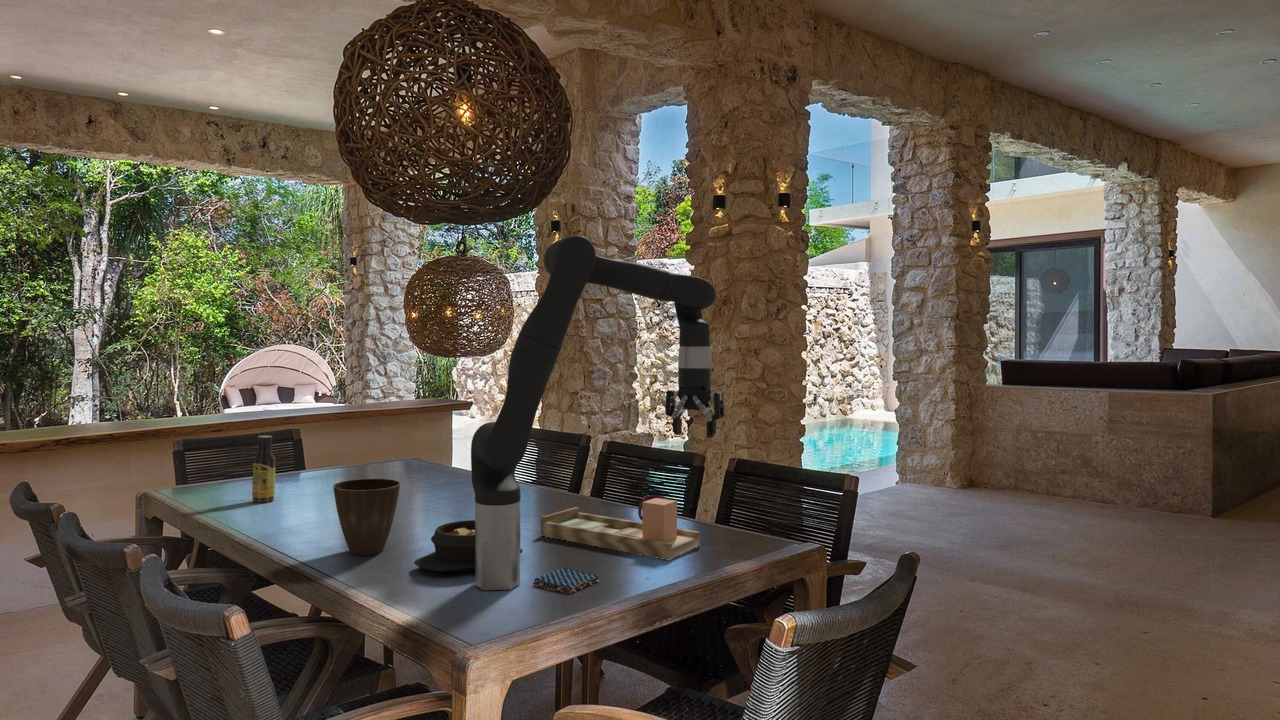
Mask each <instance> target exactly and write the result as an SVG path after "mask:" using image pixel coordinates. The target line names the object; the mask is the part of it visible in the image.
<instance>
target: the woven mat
mask: <svg viewBox="0 0 1280 720" xmlns="http://www.w3.org/2000/svg"><path fill="white" fill-rule="evenodd" d="M533 581H534V582H532V585H534V584H535V585H537V586H539V587H538V588H542V587H544V588H543V589H545V588H550V589H554V590H557V591H562V592H561V593H563V592H564V594H566V593H565V592H568V593H573V592H574V593H576V592H577V591H576V590H578V588H579V589H582V590H583V589H584V588H583V587H585V586H586V585H587V586H588V585H589V586H590V585H591V586H593V584H592V583H595V582H598V583H599V582H600V578H599V575H596V573H593V574H591V573H590V572H586V573H585V572H584V571H579V570H577V569H575V570H573V569H572V568H568V569H566V567H563V568H558V569H557V570H553V571H552V572H548V573H546V574H545V573H544V574H543V575H540V576H539V577H535V578H534V579H533ZM594 581H595V582H594ZM546 585H547V586H546ZM537 586H536V587H537ZM550 589H549V590H550ZM554 590H553V591H554ZM557 591H556V592H557Z"/></svg>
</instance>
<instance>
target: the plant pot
mask: <svg viewBox="0 0 1280 720" xmlns="http://www.w3.org/2000/svg"><path fill="white" fill-rule="evenodd" d="M400 487H401V482H400V481H398V480H396V479H391V478H389V479H387V478H359V479H358V478H357V479H350V480H344V481H343V480H342V481H340V482H337V483H335V484H334V485H333V486H332V489H333V494H334V495H333V496H334V501H335V502H334V503H335V507H336V512H337V516H338V520H339V525H340V528H341V530H342V531H341V532H342V535H343V537H344V540H345V543H346V545H347V547H348V550H349V553H350V554H352V555H355V556H372V555H377V554H379V553H382V552H383V551H384V549H385V546H386V543H387V541H388V538H389V535H390V532H391V529H392V526H393V524H394V523H393V522H394V518H395V514H396V510H397V505H398V501H399V495H400Z"/></svg>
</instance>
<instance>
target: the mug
mask: <svg viewBox="0 0 1280 720" xmlns="http://www.w3.org/2000/svg"><path fill="white" fill-rule="evenodd" d="M654 498H660V499H667V500H668V498H667V497H666V496H664V495H663V496H662V495H646V496H643V497H642V501H641V503H639V505H638V509H637V514H638V518H639V519H640V521H641V522H643V502H645V501H648V500H651V499H654Z"/></svg>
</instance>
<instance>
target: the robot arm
mask: <svg viewBox="0 0 1280 720" xmlns="http://www.w3.org/2000/svg"><path fill="white" fill-rule="evenodd" d="M543 265H544V267H545V269H546V272H548V273H549V275H550V276H549V279H548V282H547V284H546V287H545V290H544V292H543V294H542V296H541V298H540V299H539V301H538V302H537V303H536V305H535V306H534V308H533V309H532V310H531V312H530V314H529V315H528V316H527V318H526V320H525V321H524V322H523V325H522V327H521V328H520V331H519V333H518V336H517V338H516V340H515V343H514V346H513V348H512V350H511V354H510V358H509V362H508V371H507V373H508V374H507V387H506V393H505V398H504V400H503V404H502V406H501V409H500V411H499V413H498V415H497V419H496V420H495V421H489V422H485V423H483V424H482V425H480V426H479V427H478V428H477V429H476V431H474V433H473V436H472V439H471V445H470V466H471V467H470V468H471V470H470V471H471V472H470V473H471V485H472V488H473V492H474V520H475V571H474V584H475V587H476V588H479V589H480V591H503V590H504V591H507V590H513V588H515V587H517V586H519V585H520V584H521V554H520V548H521V487H520V486H519V484H518V482H517V479H516V475H515V467H517V466H518V465H519V464H520V463H521V462H522V460H523V458H524V456H525V454H526V452H527V449H528V446H529V445H528V444H529V442H530V436H531V433H532V430H533V425H534V423H535V418H536V414H537V411H538V408H539V407H540V403H541V401H542V398H543V396H544V393H545V390H546V388H547V385H548V383H549V380H550V378H551V375H552V373H553V370H554V368H555V365H556V363H557V361H558V360H557V359H558V357H559V355H560V352H561V350H562V346H563V343H564V340H565V337H566V334H567V331H568V329H569V327H570V323H571V320H572V317H573V313H575V312H574V311H575V308H576V306H577V304H578V302H579V300H580V297H581V295H582V293H583V291H584V289H585V287H586V285H587V284H592V285H599V286H603V287H607V288H612V289H616V290H620V291H623V292H626V293H630V294H634V295H637V296H641V297H643V298H647V299H651V300H655V301H660V302H672V303H674V309H675V313H676V318H677V323H678V327H679V336H678V337H679V340H678V341H679V344H678V345H679V347H678V348H679V349H678V354H677V355H678V357H677V359H678V360H677V374H678V375H677V386H678V390H675V389H668V390H666V391H665V392H666V394H665V410H664V411H665V412H664V413H665V415H666V416H668V417H670V418H672V431H673V434H674V435H675V436H679V435H682V432H683V419H682V418H681V417H682V416H683V414H684V413H685V412H686V411H690V410H692V411H700V412H701V413H702V414H703V415H704V416H705V417H706V419H707V421H706V438H708V439H711V438H714V437H715V435H716V433H717V421H718V420H721V419H723V418H725V408H724V407H725V405H724V393H723V392H722V391H718V392H711V385H712V384H711V383H712V382H711V380H712V376H711V375H712V372H711V370H712V368H711V367H712V355H711V347H710V346H711V344H710V343H711V339H710V337H711V331H710V325H709V323H708V322H707V321H705V320H704V319H703V314H702V310H706V309H708V308H709V307H711V306H712V305H713V304H714V303H715V300H716V298H717V297H716V296H717V295H716V288H715V287H714V285H713V284H712V283H711V282H710V281H709V280H707V279H704V278H702V277H698V276H692V275H689V274H682V273H674V272H671V271H668V270H666V269H663V268H660V267H656V266H653V265H649V264H645V263H638V262H633V261H632V262H631V261H625V260H624V261H623V260H618V259H614V258H613V259H612V258H607V257H603V256H600V255H597V253H596V249H595V247H594V244H593V243H592V241H591V240H590V239H589V238H587V237H585V236H582V235H570V236H566V237H564V238H561V239H558V240H557V241H554V242H552V244H550V245H549V247H548V248H547V249H546V250H545V252H544V255H543ZM677 399H678V400H679V403H678V404H677V406H676V401H677ZM710 400H712V403H713V406H712V404H711V403H710Z"/></svg>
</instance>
